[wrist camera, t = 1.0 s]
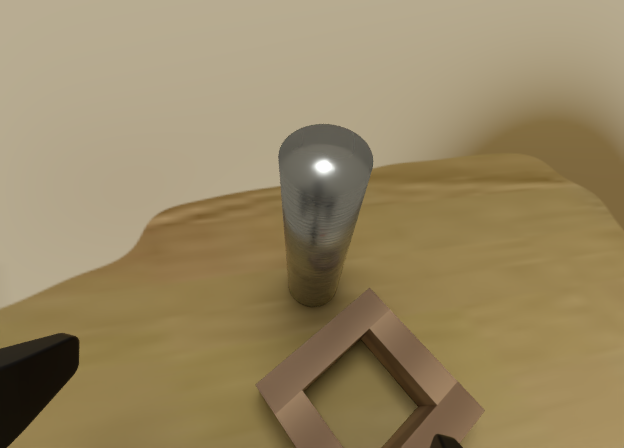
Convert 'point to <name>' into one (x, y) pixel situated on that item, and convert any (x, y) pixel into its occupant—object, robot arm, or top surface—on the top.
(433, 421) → the socket block
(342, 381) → the top surface
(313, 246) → the metal pin
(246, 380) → the top surface
